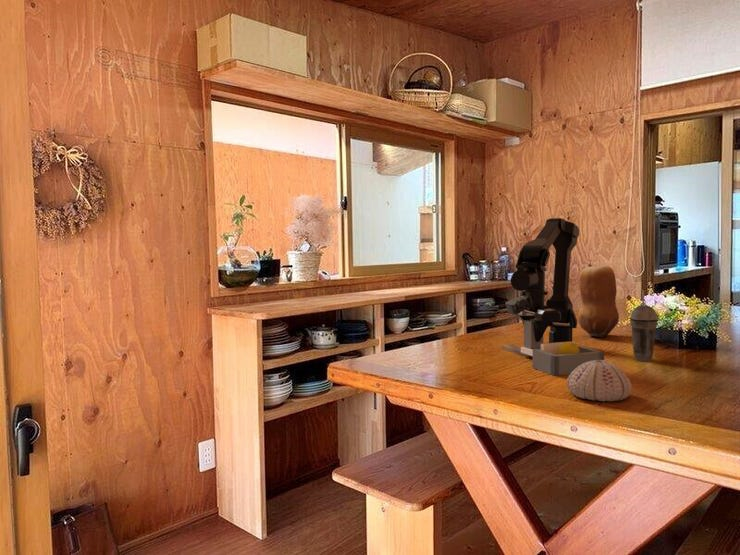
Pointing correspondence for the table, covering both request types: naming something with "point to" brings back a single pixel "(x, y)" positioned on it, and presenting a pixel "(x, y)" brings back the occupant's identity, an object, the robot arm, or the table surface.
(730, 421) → the table surface
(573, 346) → the lemon
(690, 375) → the table surface
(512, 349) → the rail
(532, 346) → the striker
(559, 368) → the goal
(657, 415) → the table surface
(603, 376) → the sea urchin shell
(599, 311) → the butternut squash
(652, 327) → the beverage cup
